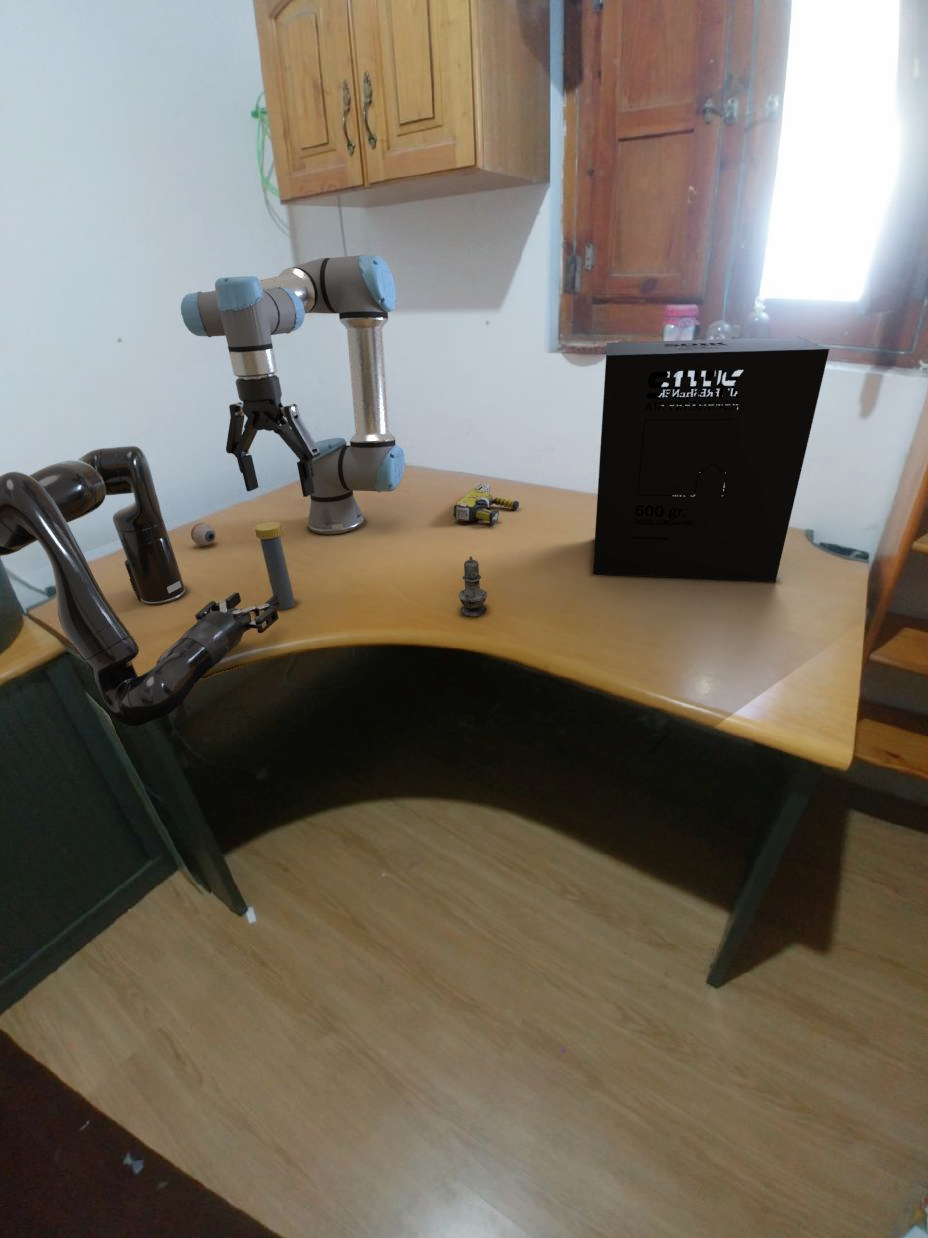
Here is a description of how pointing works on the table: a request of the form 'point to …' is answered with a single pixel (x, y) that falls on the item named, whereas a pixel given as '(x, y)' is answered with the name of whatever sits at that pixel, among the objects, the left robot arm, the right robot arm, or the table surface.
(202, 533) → the eyeball
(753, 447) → the cardboard box
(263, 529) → the lid
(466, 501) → the toy gun
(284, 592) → the bottle
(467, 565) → the grey chess piece
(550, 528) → the table surface
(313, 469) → the right robot arm
